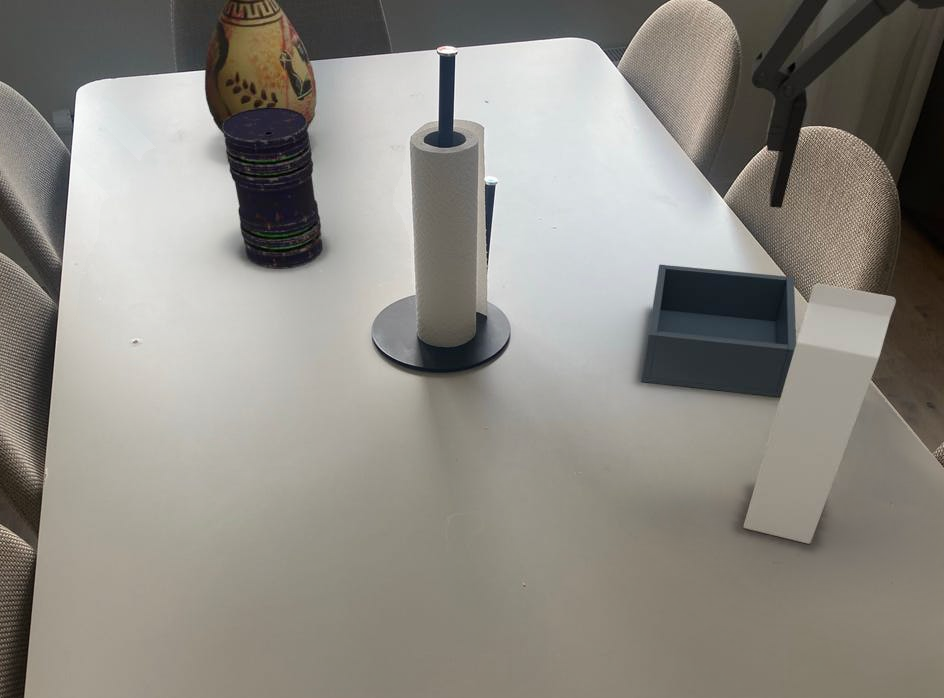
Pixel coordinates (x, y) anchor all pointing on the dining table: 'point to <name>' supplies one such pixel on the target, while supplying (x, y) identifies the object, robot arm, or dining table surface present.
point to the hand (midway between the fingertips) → (877, 208)
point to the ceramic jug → (257, 63)
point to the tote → (721, 330)
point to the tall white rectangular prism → (818, 409)
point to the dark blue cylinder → (274, 186)
